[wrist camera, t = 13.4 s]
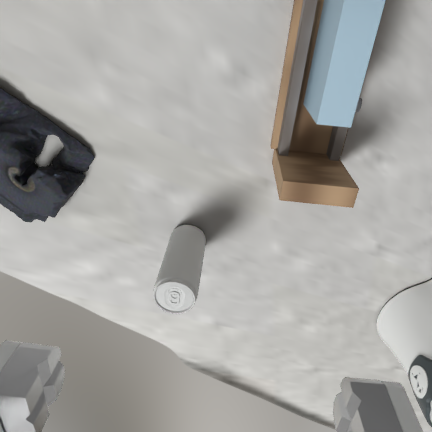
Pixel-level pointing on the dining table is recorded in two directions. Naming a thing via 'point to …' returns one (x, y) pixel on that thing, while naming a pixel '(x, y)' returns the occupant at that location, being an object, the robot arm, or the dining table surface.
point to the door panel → (341, 59)
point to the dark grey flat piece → (26, 168)
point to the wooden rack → (306, 126)
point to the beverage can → (180, 270)
